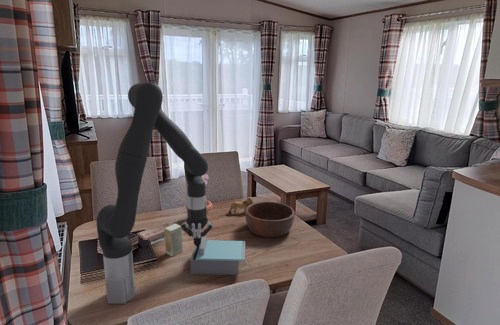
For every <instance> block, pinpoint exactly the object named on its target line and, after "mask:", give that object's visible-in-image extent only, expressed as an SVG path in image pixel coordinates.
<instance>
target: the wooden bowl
mask: <svg viewBox="0 0 500 325" xmlns="http://www.w3.org/2000/svg"><path fill="white" fill-rule="evenodd" d="M295 215H296V213H295V210H294V209H293V207H291V206H289V205H288V204H284V203H282V202H279V201H278V202H276V201H258V202H253V204H251V205H249V206H247V207H246V209H245V212H244V216H245V221H246V225H247V227H248V229H249V231H250V232H251V233H252V234H254V235H256V236H259V237H262V238H272V239H273V238H279V237H283V236H284V235H287V234H288V233H289V232H290V230H291V229H292V226H293V224H294V220H295Z"/></svg>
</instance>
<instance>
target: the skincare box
mask: <svg viewBox="0 0 500 325" xmlns="http://www.w3.org/2000/svg"><path fill="white" fill-rule="evenodd" d="M164 230H165V240H164V243H165V254H167V255H169V256H170V257H174V256H175V255H178V254H180V253H182V252H183V251H184V250H183V248H184V247H183V234H182V233H183V231H182V230H183V228H182V227H181V225H180V224H178V223H173V224H171V225H170V226H168V227H166V228H164Z"/></svg>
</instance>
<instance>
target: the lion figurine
mask: <svg viewBox="0 0 500 325" xmlns="http://www.w3.org/2000/svg"><path fill="white" fill-rule="evenodd" d="M253 203H254V197H251V196H249V197H247V198H246V199H245V200H244V201H242V202H241V201H233V202H232V203H231V204H230V208H229V210H228V213H227V214H230V213H234V214H235V215H238V212H237V209H241V210H242V209H244V210H243V212H244V213H245V209H246V207H247V206H249V205H251V204H253Z"/></svg>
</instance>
